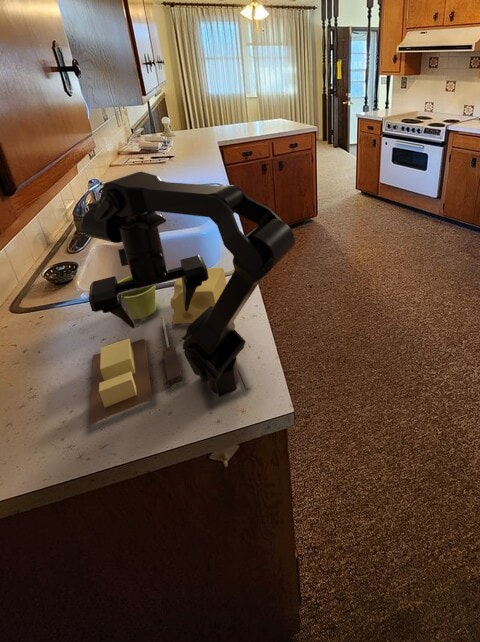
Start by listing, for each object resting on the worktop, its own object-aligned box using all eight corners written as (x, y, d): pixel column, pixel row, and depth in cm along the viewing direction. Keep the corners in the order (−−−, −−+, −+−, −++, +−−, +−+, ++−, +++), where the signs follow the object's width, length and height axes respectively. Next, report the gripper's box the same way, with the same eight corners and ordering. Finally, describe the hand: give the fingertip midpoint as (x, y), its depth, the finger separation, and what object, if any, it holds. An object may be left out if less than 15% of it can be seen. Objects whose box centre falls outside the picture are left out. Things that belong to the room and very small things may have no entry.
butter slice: (136, 395, 63) (131, 379, 62) (104, 407, 61) (98, 391, 59) (136, 386, 65) (131, 371, 63) (104, 399, 63) (99, 382, 61)
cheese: (173, 327, 81) (165, 292, 77) (190, 298, 91) (184, 265, 87) (218, 327, 81) (213, 292, 77) (230, 298, 91) (225, 265, 87)
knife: (183, 384, 67) (180, 372, 66) (169, 389, 66) (167, 378, 64) (170, 325, 82) (167, 315, 80) (159, 329, 80) (156, 318, 79)
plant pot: (171, 304, 88) (165, 275, 85) (147, 330, 80) (139, 299, 77) (139, 299, 90) (131, 271, 87) (112, 324, 82) (102, 294, 78)
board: (153, 403, 63) (151, 398, 63) (91, 429, 59) (89, 424, 58) (145, 342, 77) (144, 338, 76) (94, 359, 72) (93, 355, 72)
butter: (135, 373, 68) (130, 358, 66) (105, 384, 65) (99, 369, 64) (133, 353, 72) (129, 338, 71) (105, 362, 70) (100, 347, 69)
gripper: (191, 217, 71) (202, 282, 77) (82, 239, 62) (104, 309, 68) (202, 240, 62) (214, 311, 68) (77, 270, 53) (103, 347, 60)
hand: (160, 318), depth 66 cm, fingers open, 9 cm apart
